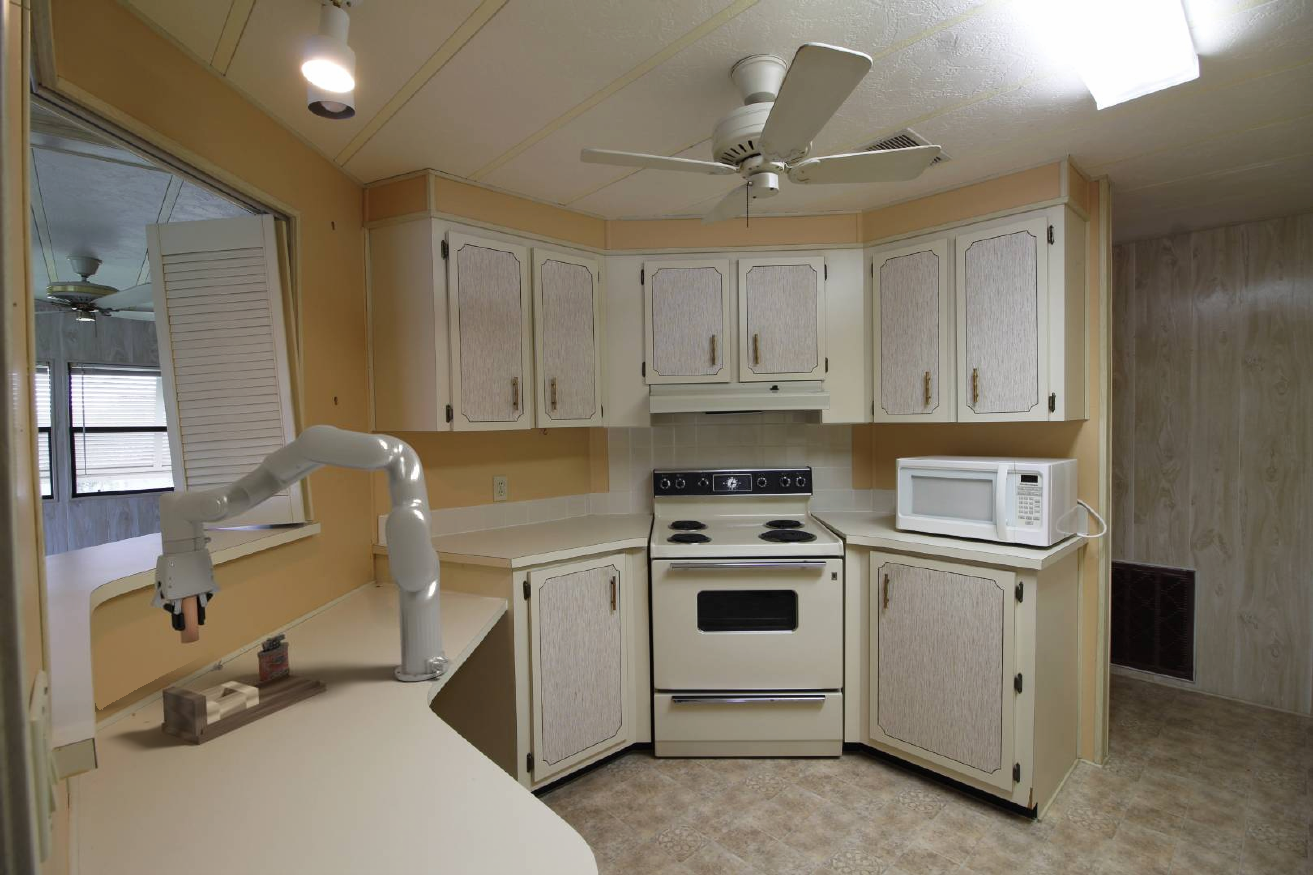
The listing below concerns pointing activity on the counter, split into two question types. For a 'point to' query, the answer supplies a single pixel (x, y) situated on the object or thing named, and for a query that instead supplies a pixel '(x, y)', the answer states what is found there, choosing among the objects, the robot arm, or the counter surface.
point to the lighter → (273, 658)
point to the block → (229, 700)
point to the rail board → (190, 713)
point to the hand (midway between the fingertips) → (189, 626)
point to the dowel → (190, 620)
